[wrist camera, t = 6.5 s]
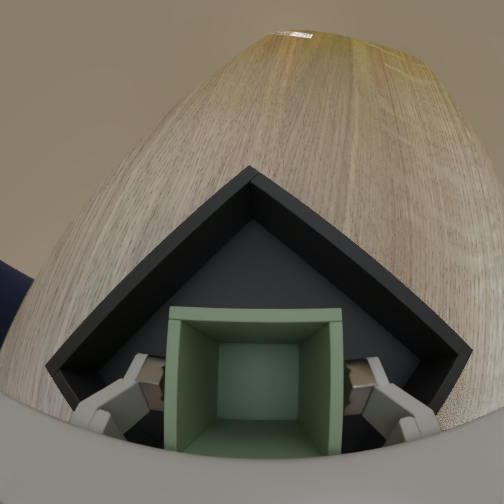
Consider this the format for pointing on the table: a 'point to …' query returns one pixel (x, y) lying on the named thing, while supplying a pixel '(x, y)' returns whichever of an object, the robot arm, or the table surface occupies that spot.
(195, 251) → the bin
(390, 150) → the table surface
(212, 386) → the box
